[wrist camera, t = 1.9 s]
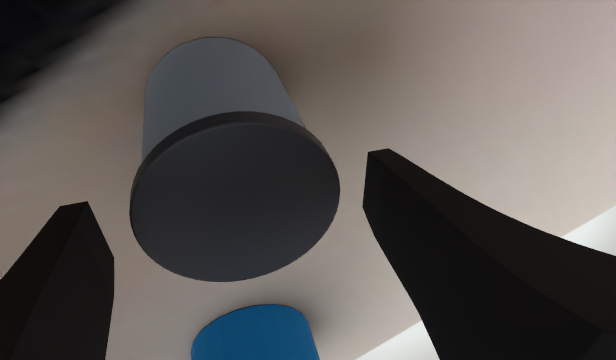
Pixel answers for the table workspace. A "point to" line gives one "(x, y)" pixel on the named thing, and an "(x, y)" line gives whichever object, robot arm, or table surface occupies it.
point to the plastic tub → (227, 167)
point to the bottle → (257, 336)
